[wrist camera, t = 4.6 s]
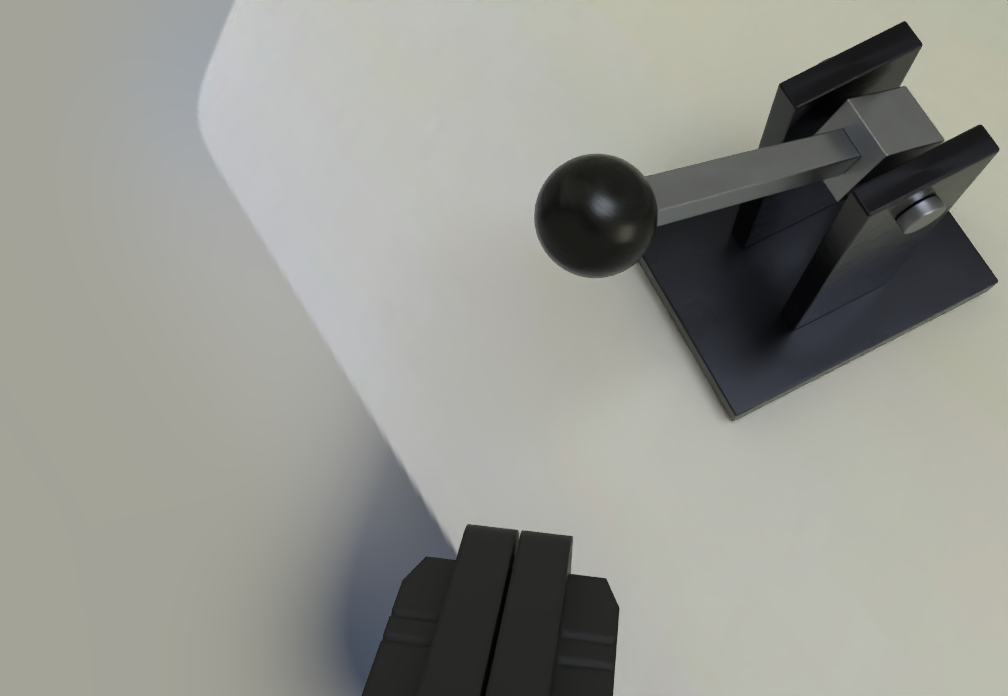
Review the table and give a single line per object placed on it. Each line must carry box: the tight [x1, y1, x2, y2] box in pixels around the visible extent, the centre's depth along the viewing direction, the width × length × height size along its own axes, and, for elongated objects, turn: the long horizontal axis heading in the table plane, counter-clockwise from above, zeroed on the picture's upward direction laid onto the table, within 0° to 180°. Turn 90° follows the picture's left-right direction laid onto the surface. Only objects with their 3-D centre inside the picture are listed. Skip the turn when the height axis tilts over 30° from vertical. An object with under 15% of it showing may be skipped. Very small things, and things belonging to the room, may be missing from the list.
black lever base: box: [638, 21, 999, 421], centre depth 34 cm, size 12×9×13 cm
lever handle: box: [534, 86, 944, 278], centre depth 27 cm, size 14×3×3 cm, turn 116°
